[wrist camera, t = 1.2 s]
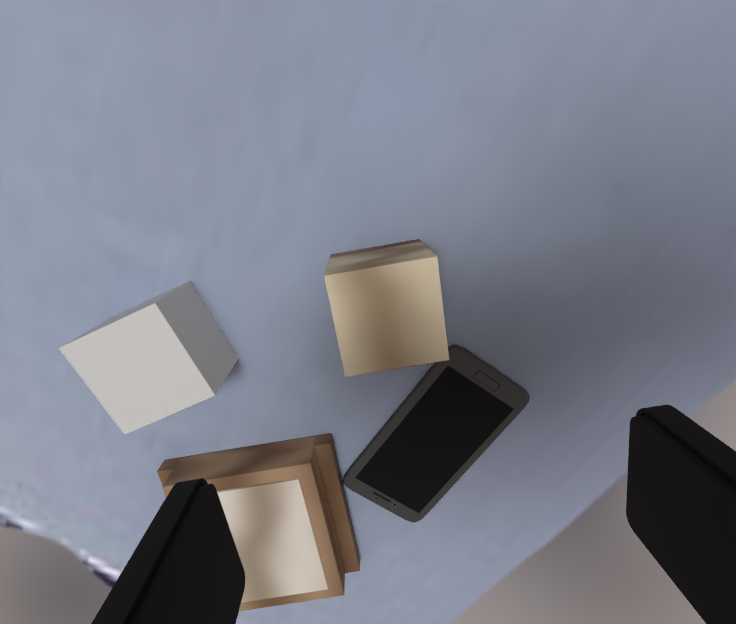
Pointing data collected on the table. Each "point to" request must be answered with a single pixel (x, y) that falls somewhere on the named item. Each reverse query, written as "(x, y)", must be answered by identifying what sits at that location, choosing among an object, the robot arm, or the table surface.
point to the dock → (280, 516)
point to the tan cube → (387, 307)
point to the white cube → (153, 358)
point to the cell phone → (436, 435)
